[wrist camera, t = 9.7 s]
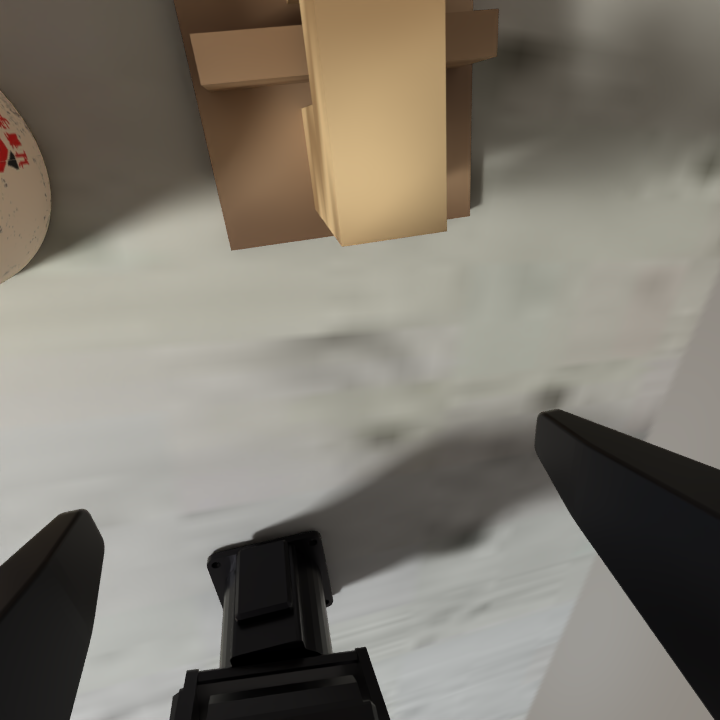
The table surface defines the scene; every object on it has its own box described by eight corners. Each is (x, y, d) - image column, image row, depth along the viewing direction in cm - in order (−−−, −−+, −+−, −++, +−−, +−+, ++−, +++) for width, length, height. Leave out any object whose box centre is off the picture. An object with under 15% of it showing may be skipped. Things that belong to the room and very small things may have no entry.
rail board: (462, 212, 20) (503, 229, 17) (232, 245, 19) (227, 271, 16) (465, -178, 14) (528, -268, 11) (137, -169, 13) (97, -269, 10)
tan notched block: (389, 199, 18) (446, 231, 13) (315, 209, 18) (342, 246, 12) (366, -148, 14) (442, -336, 8) (266, -145, 13) (274, -339, 8)
